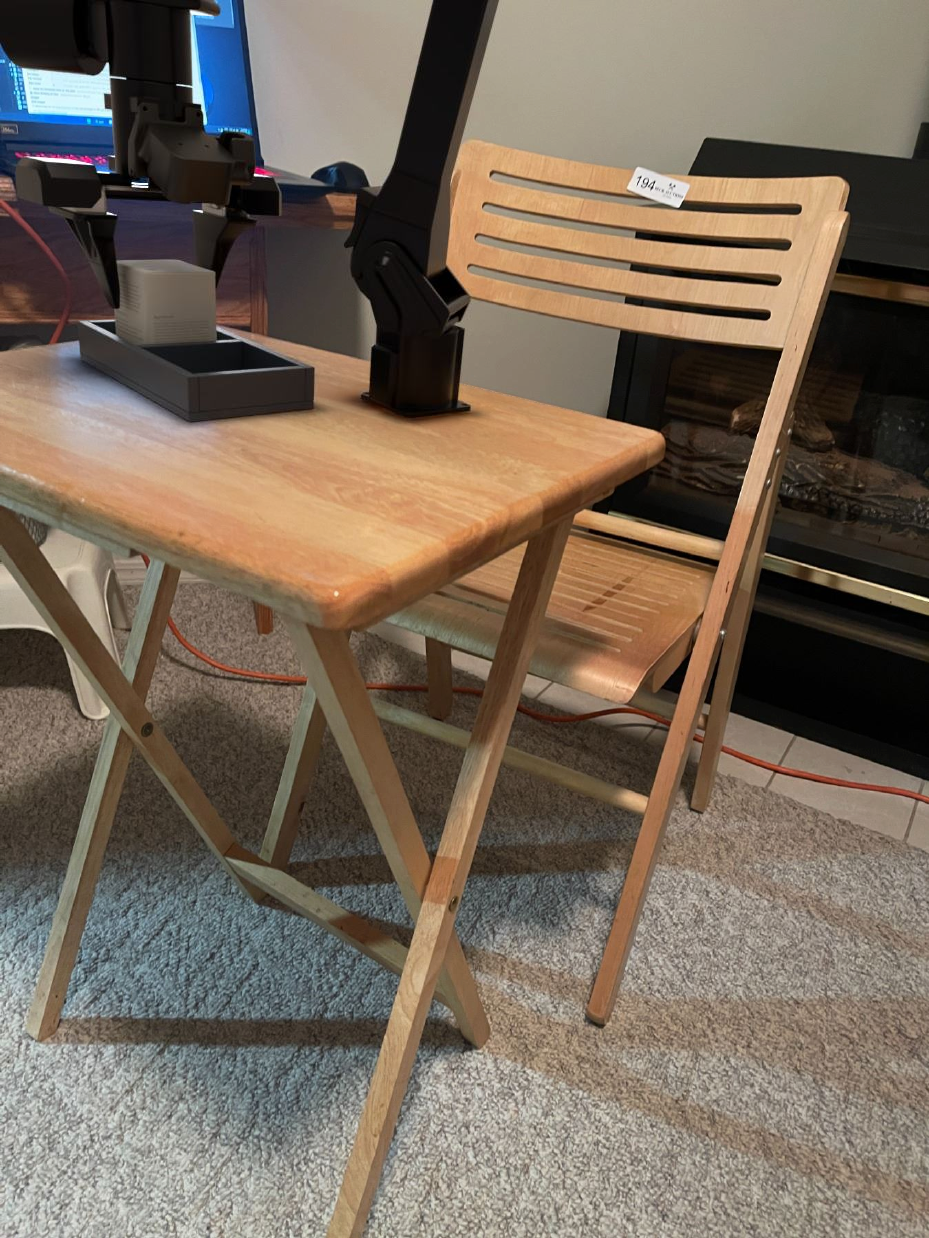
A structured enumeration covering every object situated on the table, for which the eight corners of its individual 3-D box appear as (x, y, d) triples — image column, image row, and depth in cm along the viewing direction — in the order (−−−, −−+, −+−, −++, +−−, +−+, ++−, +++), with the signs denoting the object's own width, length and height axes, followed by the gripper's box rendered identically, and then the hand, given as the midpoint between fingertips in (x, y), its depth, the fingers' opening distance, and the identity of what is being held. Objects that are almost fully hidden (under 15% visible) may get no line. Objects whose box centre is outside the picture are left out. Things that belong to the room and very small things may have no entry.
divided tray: (194, 352, 83) (193, 316, 82) (314, 408, 71) (315, 367, 69) (80, 359, 77) (76, 320, 76) (189, 422, 64) (187, 377, 63)
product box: (219, 365, 76) (217, 271, 73) (148, 371, 73) (142, 271, 69) (184, 349, 80) (181, 259, 77) (114, 353, 77) (108, 258, 73)
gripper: (62, 68, 57) (83, 332, 64) (322, 102, 68) (316, 323, 75) (0, 64, 64) (26, 302, 71) (245, 96, 75) (247, 298, 82)
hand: (161, 307), depth 75 cm, fingers open, 7 cm apart
